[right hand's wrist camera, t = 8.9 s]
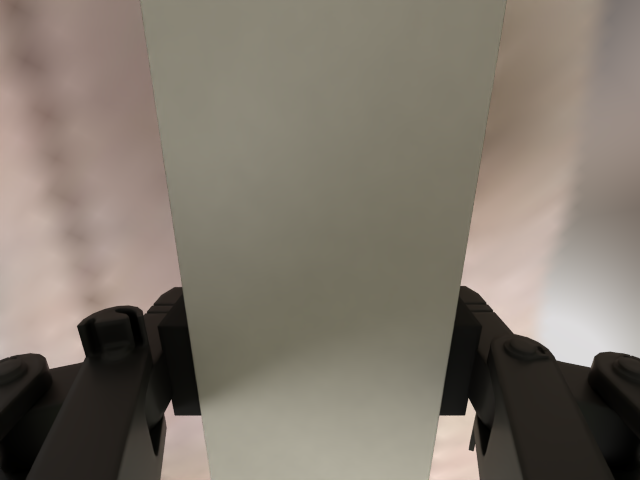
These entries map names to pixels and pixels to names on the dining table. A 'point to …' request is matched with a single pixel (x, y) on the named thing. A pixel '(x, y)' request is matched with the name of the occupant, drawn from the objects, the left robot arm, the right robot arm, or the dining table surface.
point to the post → (321, 219)
